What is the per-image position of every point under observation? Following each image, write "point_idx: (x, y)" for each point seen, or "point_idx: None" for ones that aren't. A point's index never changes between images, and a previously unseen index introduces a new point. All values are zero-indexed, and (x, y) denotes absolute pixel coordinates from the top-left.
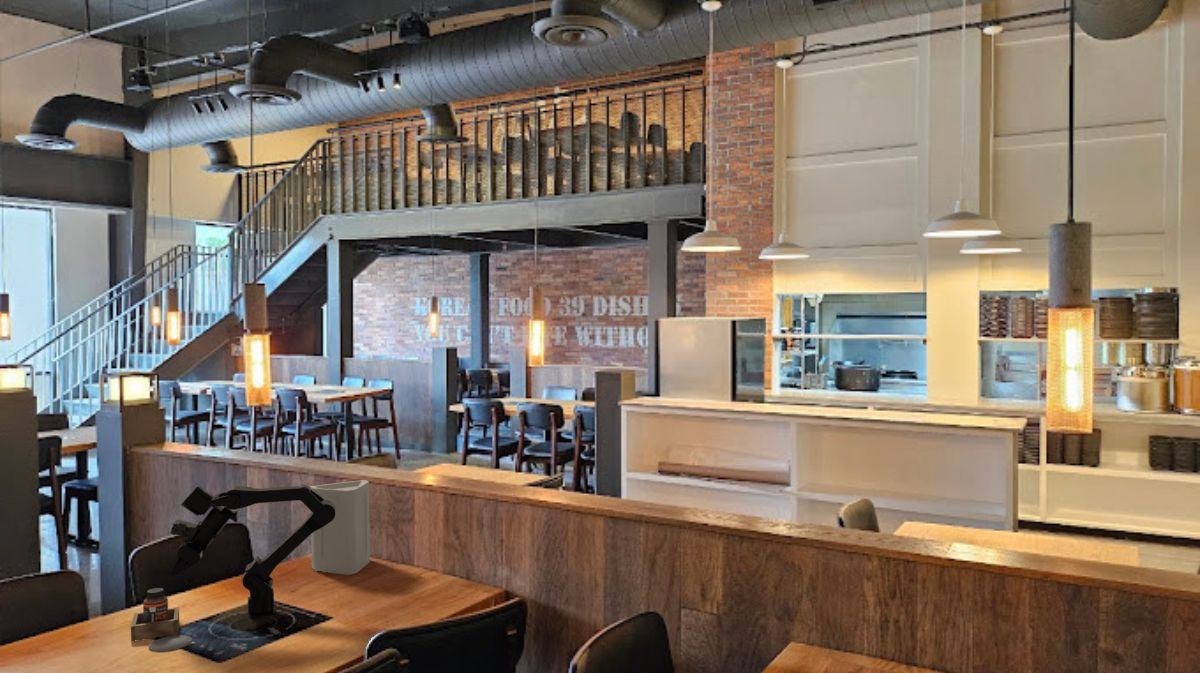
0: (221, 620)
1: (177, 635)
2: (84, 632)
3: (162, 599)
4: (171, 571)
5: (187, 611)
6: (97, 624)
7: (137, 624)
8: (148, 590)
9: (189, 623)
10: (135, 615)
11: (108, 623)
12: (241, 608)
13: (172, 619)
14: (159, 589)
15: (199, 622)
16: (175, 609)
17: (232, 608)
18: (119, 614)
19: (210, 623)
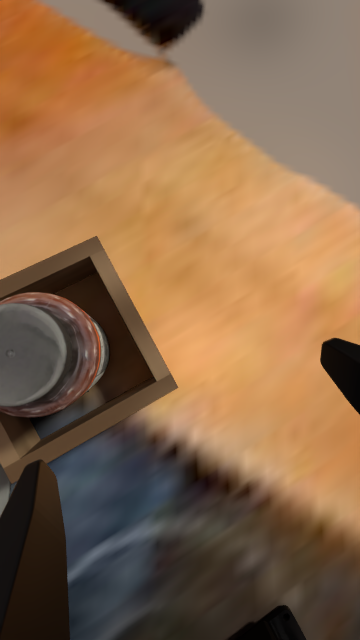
0: (184, 545)
1: (5, 476)
2: (57, 108)
3: (7, 410)
4: (7, 510)
5: (265, 354)
6: (132, 111)
7: (52, 283)
8: (4, 308)
9: (150, 434)
10: (70, 255)
11: (142, 142)
12: (308, 547)
13: (16, 455)
14: (27, 374)
15: (161, 468)
16: (147, 390)
17: (305, 510)
18: (224, 135)
19: (152, 519)
